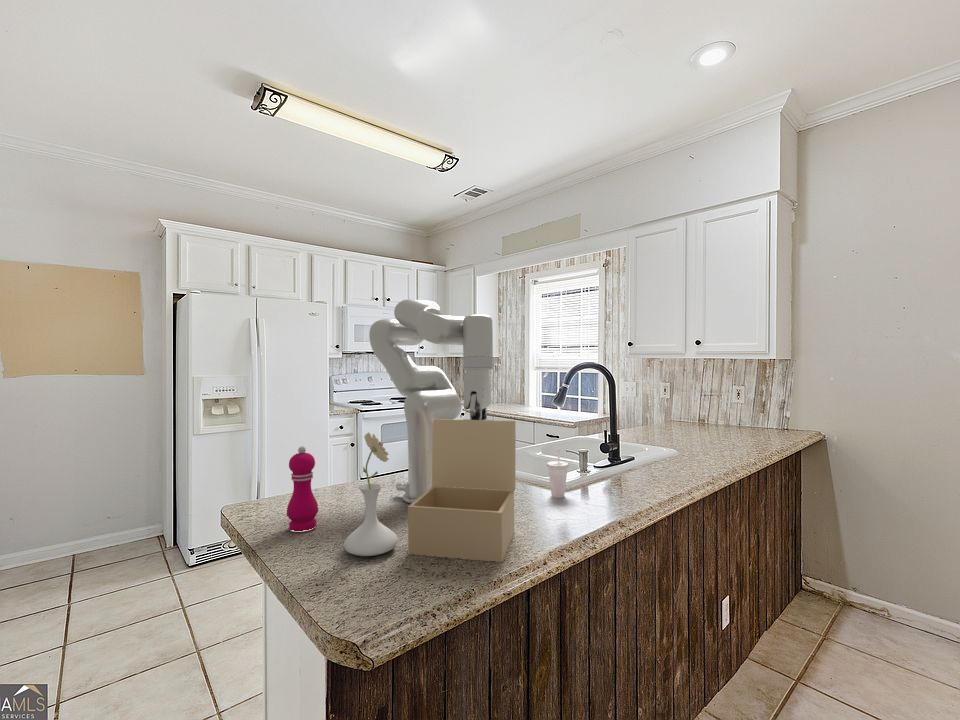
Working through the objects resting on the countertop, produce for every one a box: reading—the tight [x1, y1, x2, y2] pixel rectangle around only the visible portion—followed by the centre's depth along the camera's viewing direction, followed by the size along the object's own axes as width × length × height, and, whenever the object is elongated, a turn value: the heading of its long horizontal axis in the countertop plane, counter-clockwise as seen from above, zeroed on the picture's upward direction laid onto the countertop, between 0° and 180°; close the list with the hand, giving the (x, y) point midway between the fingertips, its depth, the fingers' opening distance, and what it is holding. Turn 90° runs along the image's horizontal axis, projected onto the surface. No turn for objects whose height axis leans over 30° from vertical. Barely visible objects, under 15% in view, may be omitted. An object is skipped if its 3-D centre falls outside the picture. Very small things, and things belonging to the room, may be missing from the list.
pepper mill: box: [286, 446, 319, 531], centre depth 114 cm, size 7×7×20 cm
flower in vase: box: [343, 431, 399, 557], centre depth 102 cm, size 13×11×25 cm
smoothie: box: [546, 447, 569, 499], centre depth 139 cm, size 6×6×14 cm
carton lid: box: [432, 418, 517, 492], centre depth 116 cm, size 20×16×7 cm
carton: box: [407, 486, 515, 563], centre depth 104 cm, size 20×16×10 cm
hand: (478, 435), depth 119 cm, fingers open, 3 cm apart
